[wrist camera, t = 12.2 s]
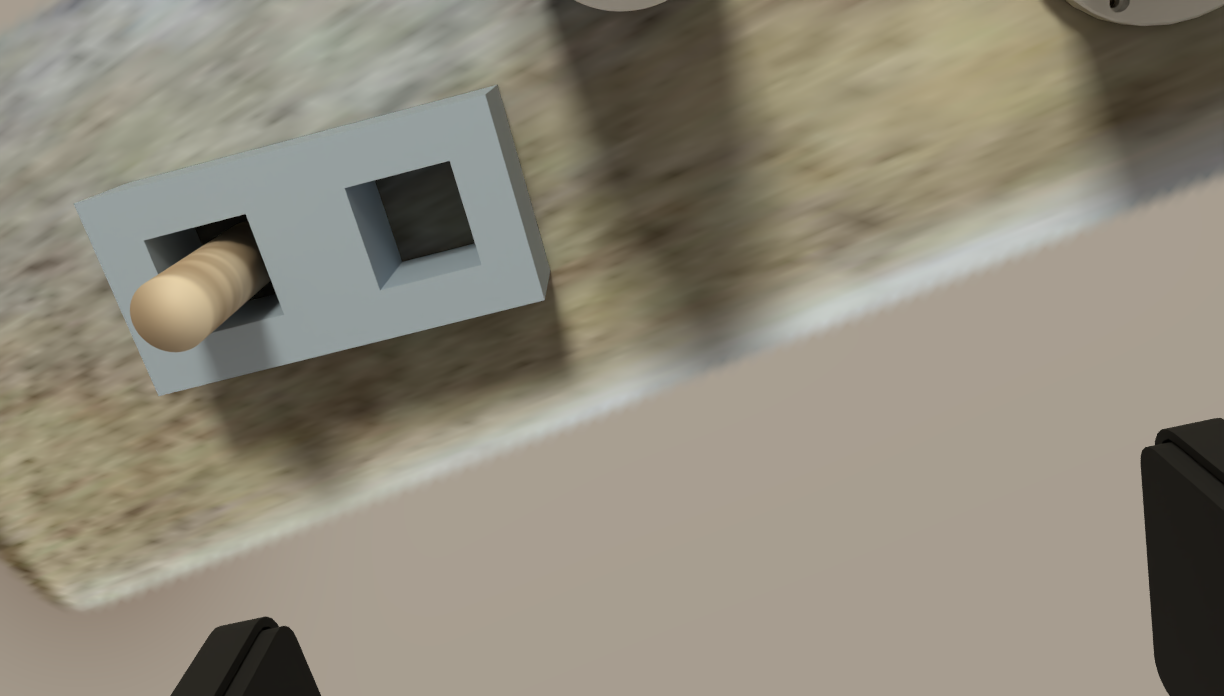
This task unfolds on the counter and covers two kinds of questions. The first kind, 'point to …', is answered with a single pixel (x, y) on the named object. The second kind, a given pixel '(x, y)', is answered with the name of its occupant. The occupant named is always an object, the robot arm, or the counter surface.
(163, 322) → the peg
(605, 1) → the milk bottle
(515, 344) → the counter surface
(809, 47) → the counter surface
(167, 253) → the hole block
